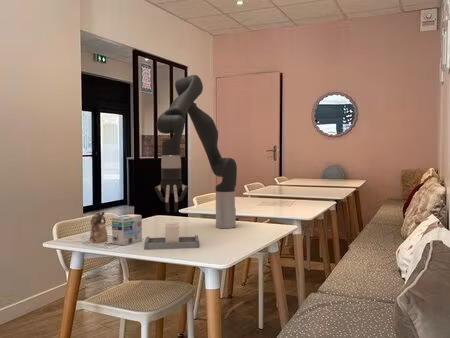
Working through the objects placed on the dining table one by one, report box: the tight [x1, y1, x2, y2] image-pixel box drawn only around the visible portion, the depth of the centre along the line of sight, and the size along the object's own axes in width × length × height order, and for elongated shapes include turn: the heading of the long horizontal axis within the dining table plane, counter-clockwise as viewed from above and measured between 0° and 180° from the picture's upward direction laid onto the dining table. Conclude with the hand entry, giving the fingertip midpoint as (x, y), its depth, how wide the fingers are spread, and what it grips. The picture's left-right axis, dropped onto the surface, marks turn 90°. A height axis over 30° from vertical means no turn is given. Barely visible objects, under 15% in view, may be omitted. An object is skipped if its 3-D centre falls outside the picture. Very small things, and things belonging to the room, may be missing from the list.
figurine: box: [89, 211, 109, 244], centre depth 177 cm, size 7×7×12 cm
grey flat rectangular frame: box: [143, 234, 200, 250], centre depth 168 cm, size 20×12×2 cm, turn 96°
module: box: [164, 222, 180, 243], centre depth 168 cm, size 5×8×8 cm, turn 7°
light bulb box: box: [111, 213, 143, 246], centre depth 174 cm, size 11×7×11 cm, turn 148°
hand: (171, 211), depth 168 cm, fingers closed
